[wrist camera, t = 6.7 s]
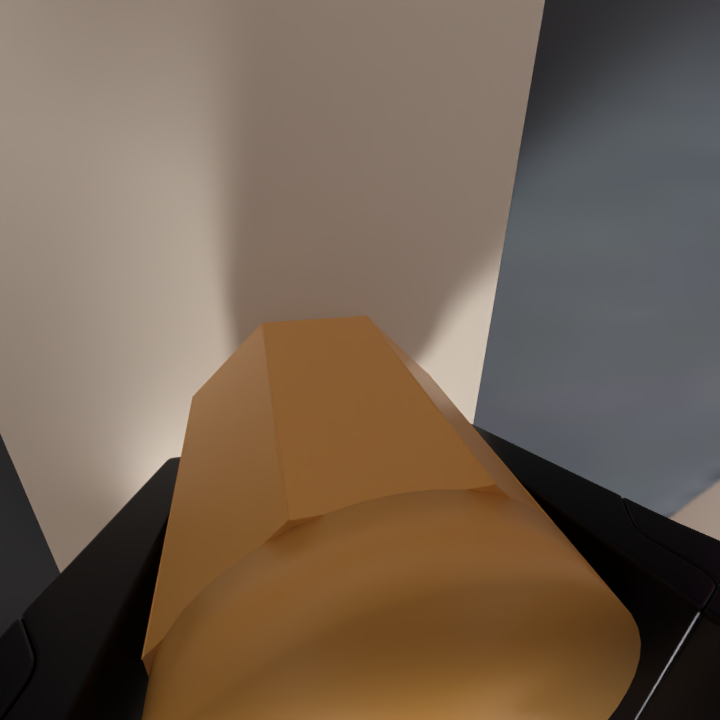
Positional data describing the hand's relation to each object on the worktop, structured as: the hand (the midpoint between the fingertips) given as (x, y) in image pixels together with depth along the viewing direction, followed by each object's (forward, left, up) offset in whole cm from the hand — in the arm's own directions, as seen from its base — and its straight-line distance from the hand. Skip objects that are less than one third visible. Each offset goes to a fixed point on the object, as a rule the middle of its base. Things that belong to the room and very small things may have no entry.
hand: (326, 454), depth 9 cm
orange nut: (0, 0, -1) cm, 1 cm away
